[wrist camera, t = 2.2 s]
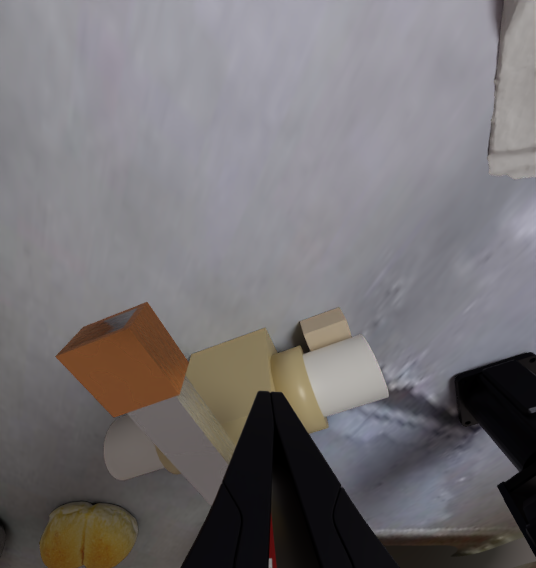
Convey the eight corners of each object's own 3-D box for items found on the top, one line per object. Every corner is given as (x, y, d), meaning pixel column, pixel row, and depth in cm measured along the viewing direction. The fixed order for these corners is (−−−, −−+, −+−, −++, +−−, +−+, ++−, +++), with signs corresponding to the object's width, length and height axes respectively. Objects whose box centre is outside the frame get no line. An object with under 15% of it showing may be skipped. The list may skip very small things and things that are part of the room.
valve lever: (270, 470, 15) (273, 519, 13) (228, 483, 16) (224, 533, 14) (153, 292, 10) (129, 328, 8) (93, 316, 11) (55, 356, 8)
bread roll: (136, 540, 32) (122, 589, 29) (53, 533, 31) (27, 584, 27) (146, 501, 29) (131, 551, 25) (53, 492, 27) (23, 543, 24)
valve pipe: (362, 359, 22) (408, 443, 16) (162, 426, 24) (131, 524, 18) (344, 299, 19) (389, 369, 13) (121, 379, 21) (68, 474, 15)
